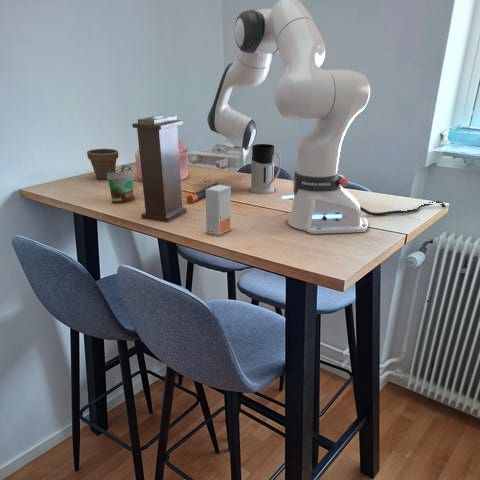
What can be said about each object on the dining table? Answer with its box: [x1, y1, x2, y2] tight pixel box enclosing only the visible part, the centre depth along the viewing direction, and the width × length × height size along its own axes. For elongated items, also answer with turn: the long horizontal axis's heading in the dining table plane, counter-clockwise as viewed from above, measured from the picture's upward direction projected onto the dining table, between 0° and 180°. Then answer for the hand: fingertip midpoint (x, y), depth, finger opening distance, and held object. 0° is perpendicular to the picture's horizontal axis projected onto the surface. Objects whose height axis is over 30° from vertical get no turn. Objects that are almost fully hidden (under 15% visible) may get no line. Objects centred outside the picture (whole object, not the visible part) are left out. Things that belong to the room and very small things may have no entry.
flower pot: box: [86, 148, 119, 181], centre depth 180 cm, size 12×11×10 cm
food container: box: [107, 164, 135, 204], centre depth 153 cm, size 12×6×10 cm, turn 168°
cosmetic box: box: [205, 184, 232, 236], centre depth 125 cm, size 6×4×12 cm
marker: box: [186, 182, 220, 204], centre depth 159 cm, size 19×2×2 cm
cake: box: [134, 139, 189, 181], centre depth 180 cm, size 20×20×14 cm
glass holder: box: [249, 143, 282, 194], centre depth 161 cm, size 9×14×15 cm, turn 33°
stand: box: [131, 114, 188, 223], centre depth 135 cm, size 12×9×27 cm
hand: (205, 162), depth 158 cm, fingers open, 8 cm apart
